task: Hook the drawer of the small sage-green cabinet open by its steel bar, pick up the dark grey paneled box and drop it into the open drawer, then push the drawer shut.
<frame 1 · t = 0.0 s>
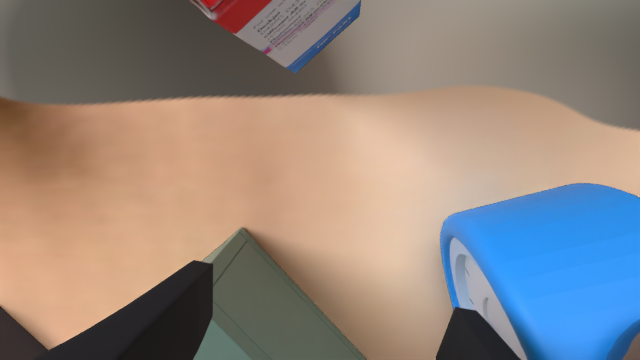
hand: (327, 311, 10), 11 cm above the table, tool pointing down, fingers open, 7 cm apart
cabinet: (235, 350, 23), on the table
alarm clock: (493, 270, 20), on the table
dark grey paneled box: (10, 341, 24), on the table
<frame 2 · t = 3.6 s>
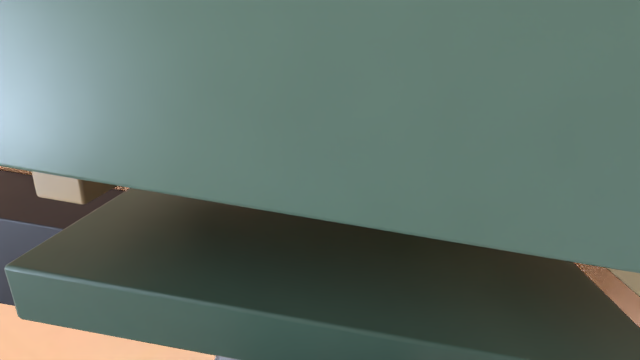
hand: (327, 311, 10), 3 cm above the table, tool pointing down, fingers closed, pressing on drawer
drawer: (365, 122, 7), point 4 cm above the table, slide at 2.3 cm, touching gripper
dark grey paneled box: (65, 219, 13), on the table
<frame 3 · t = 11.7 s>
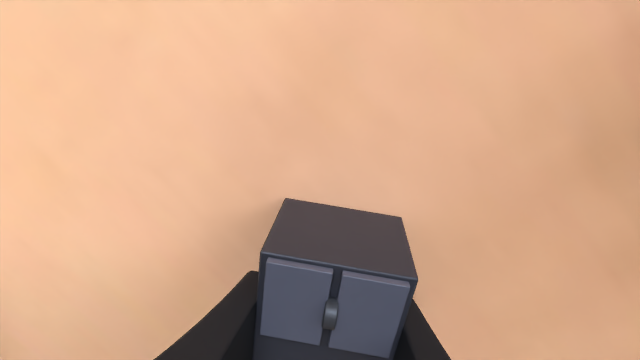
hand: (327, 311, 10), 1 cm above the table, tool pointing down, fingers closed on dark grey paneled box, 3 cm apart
dark grey paneled box: (329, 280, 11), on the table, touching gripper
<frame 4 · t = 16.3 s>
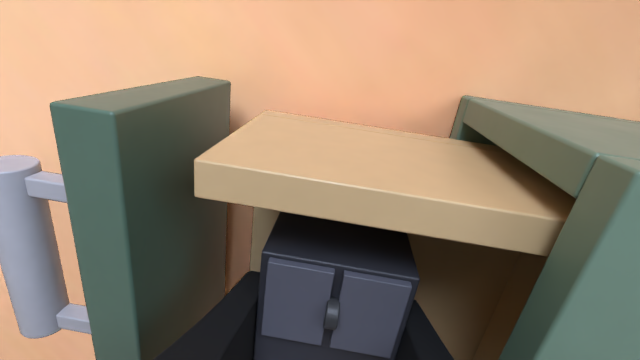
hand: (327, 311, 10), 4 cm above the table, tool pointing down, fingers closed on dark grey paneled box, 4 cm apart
cabinet: (581, 275, 13), on the table
drawer: (277, 287, 10), point 4 cm above the table, slide at 7.8 cm
dark grey paneled box: (330, 280, 11), point 3 cm above the table, touching gripper
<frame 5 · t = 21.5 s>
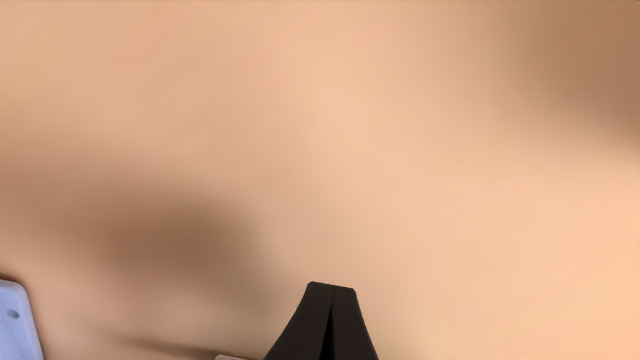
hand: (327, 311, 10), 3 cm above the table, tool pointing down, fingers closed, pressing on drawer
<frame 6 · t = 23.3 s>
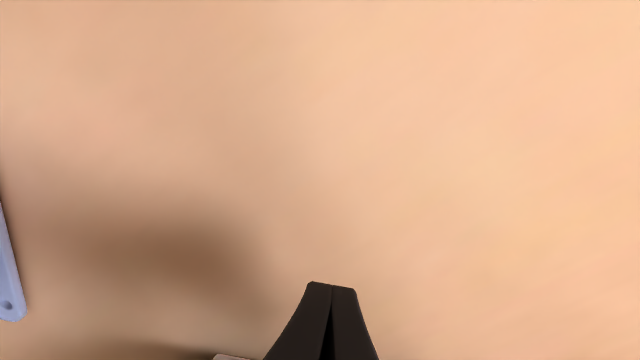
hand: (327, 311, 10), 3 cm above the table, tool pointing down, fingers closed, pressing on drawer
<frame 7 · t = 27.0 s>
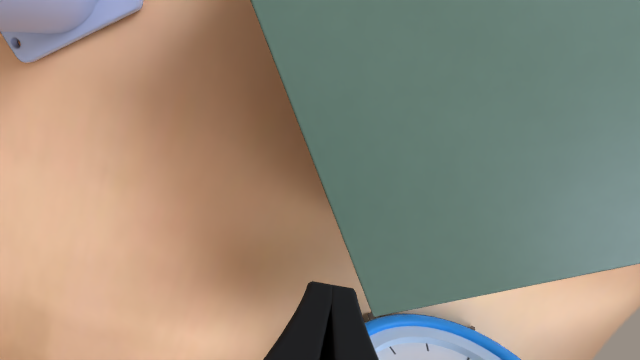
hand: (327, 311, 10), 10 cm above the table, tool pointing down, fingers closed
cabinet: (449, 72, 16), on the table
alarm clock: (414, 341, 23), on the table
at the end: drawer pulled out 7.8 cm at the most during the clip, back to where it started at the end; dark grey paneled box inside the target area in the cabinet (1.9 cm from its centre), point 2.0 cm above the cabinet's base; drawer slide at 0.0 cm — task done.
